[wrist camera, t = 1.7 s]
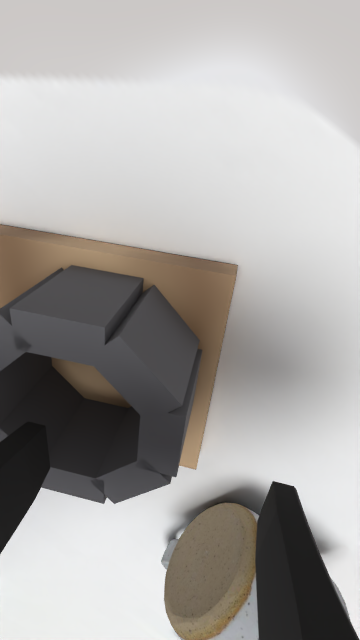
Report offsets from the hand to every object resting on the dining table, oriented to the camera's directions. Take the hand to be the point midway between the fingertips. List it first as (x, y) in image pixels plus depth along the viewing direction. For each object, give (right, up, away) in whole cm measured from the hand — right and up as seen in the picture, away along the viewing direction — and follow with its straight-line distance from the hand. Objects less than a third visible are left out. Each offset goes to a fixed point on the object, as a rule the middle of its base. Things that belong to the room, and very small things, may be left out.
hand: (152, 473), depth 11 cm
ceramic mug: (+5, -10, +12) cm, 16 cm away
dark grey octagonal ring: (-3, +3, +5) cm, 6 cm away
